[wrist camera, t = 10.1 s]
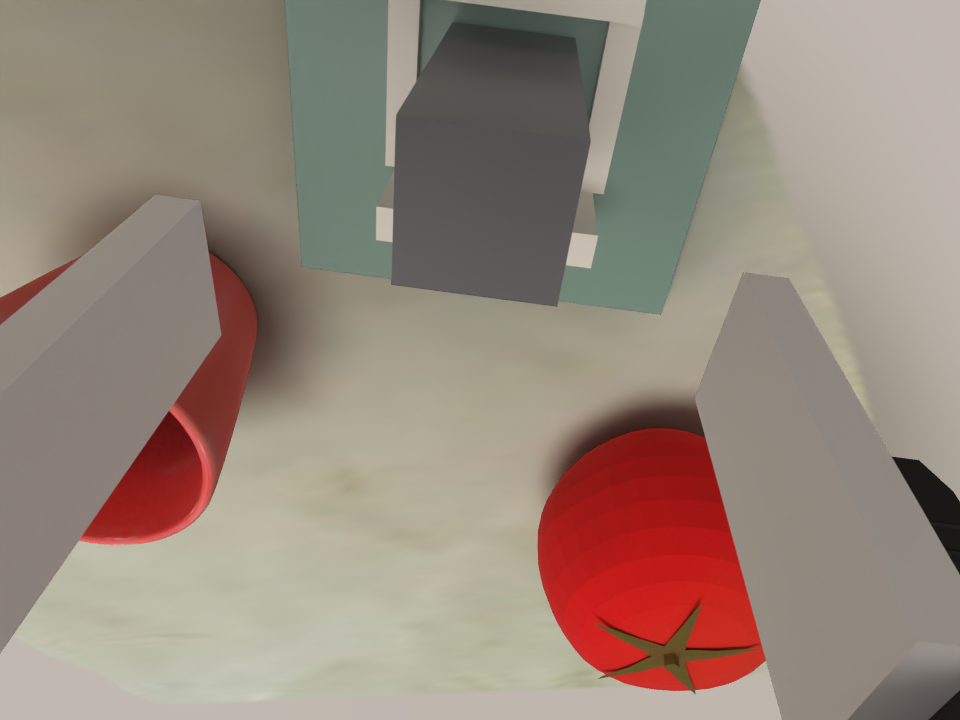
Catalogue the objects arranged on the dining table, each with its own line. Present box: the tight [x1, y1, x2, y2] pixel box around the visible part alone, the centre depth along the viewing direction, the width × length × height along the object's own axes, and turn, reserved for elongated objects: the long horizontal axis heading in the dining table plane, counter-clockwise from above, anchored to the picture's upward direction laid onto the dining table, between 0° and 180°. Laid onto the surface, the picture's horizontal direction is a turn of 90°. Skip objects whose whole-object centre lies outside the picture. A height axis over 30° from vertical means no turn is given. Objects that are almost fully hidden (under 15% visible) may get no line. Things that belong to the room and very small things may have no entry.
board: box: [285, 0, 760, 315], centre depth 21 cm, size 20×15×6 cm
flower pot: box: [0, 253, 258, 545], centre depth 28 cm, size 11×11×10 cm
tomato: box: [538, 428, 766, 693], centre depth 31 cm, size 12×12×10 cm
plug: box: [391, 22, 591, 307], centre depth 19 cm, size 5×4×10 cm
